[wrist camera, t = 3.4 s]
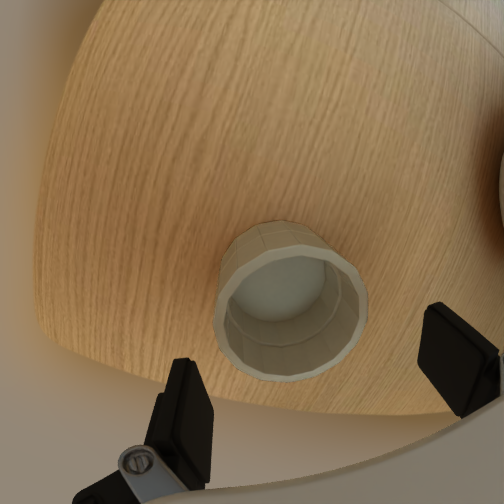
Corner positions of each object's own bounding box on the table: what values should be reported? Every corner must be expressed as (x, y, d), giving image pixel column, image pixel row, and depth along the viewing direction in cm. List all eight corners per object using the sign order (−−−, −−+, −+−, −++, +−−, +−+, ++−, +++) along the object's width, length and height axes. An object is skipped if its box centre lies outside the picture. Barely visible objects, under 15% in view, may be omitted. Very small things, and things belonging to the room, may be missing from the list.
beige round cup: (197, 290, 19) (184, 342, 13) (263, 195, 17) (278, 211, 12) (286, 341, 20) (303, 398, 15) (352, 260, 19) (395, 298, 13)
